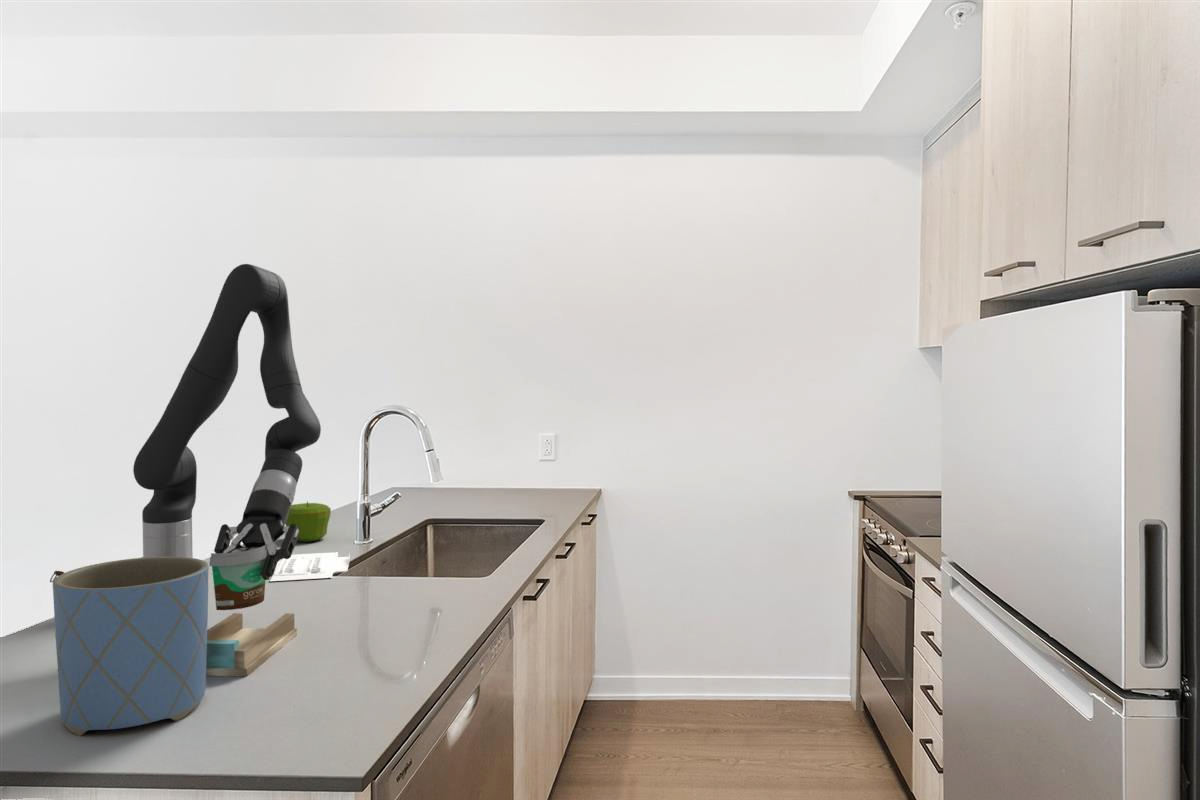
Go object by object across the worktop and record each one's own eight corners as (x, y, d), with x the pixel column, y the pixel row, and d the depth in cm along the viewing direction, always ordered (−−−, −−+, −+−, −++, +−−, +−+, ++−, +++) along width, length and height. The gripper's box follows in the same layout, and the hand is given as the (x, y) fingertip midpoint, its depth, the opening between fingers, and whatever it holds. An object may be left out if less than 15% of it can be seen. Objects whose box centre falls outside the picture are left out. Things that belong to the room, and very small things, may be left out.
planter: (40, 751, 101) (36, 595, 101) (71, 696, 119) (68, 563, 118) (206, 725, 109) (204, 580, 108) (213, 677, 126) (211, 551, 126)
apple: (275, 543, 226) (275, 504, 226) (299, 535, 238) (298, 497, 238) (316, 545, 224) (316, 505, 224) (338, 536, 236) (337, 498, 236)
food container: (242, 614, 133) (241, 555, 133) (210, 612, 135) (208, 554, 134) (286, 593, 146) (284, 539, 145) (256, 592, 147) (254, 538, 146)
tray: (253, 586, 183) (253, 570, 183) (269, 563, 210) (269, 549, 210) (346, 580, 188) (346, 565, 188) (351, 559, 215) (351, 545, 215)
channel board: (172, 675, 127) (171, 643, 127) (231, 634, 147) (231, 606, 147) (247, 676, 127) (246, 643, 127) (296, 635, 147) (296, 607, 146)
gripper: (226, 488, 147) (194, 567, 136) (303, 487, 147) (278, 566, 135) (240, 511, 153) (211, 589, 141) (314, 510, 152) (291, 588, 141)
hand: (244, 577), depth 138 cm, fingers closed on food container, 6 cm apart
